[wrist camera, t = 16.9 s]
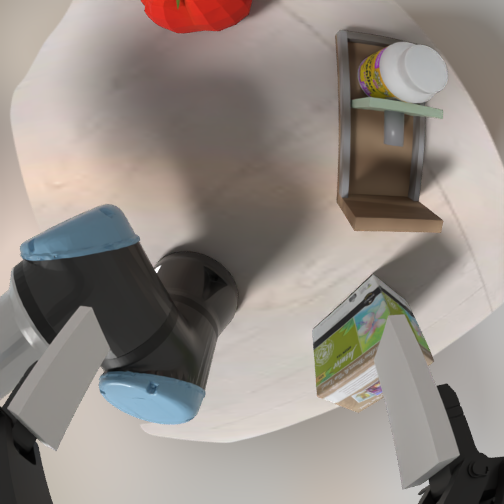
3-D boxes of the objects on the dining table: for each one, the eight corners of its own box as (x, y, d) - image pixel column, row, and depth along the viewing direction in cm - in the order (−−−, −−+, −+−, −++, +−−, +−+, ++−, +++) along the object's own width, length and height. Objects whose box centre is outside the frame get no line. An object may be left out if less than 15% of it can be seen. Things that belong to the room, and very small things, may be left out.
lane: (408, 204, 36) (440, 232, 28) (336, 202, 37) (354, 230, 29) (412, 48, 26) (449, 35, 17) (335, 36, 27) (354, 12, 18)
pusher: (411, 144, 31) (441, 154, 24) (349, 138, 32) (369, 145, 25) (412, 108, 29) (442, 110, 22) (349, 100, 30) (369, 97, 23)
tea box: (371, 270, 42) (401, 335, 29) (406, 300, 44) (437, 361, 31) (309, 329, 48) (315, 399, 35) (347, 351, 50) (360, 415, 37)
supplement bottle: (356, 51, 27) (394, 24, 15) (403, 62, 26) (455, 47, 15) (355, 99, 30) (394, 93, 18) (402, 108, 29) (455, 111, 18)
